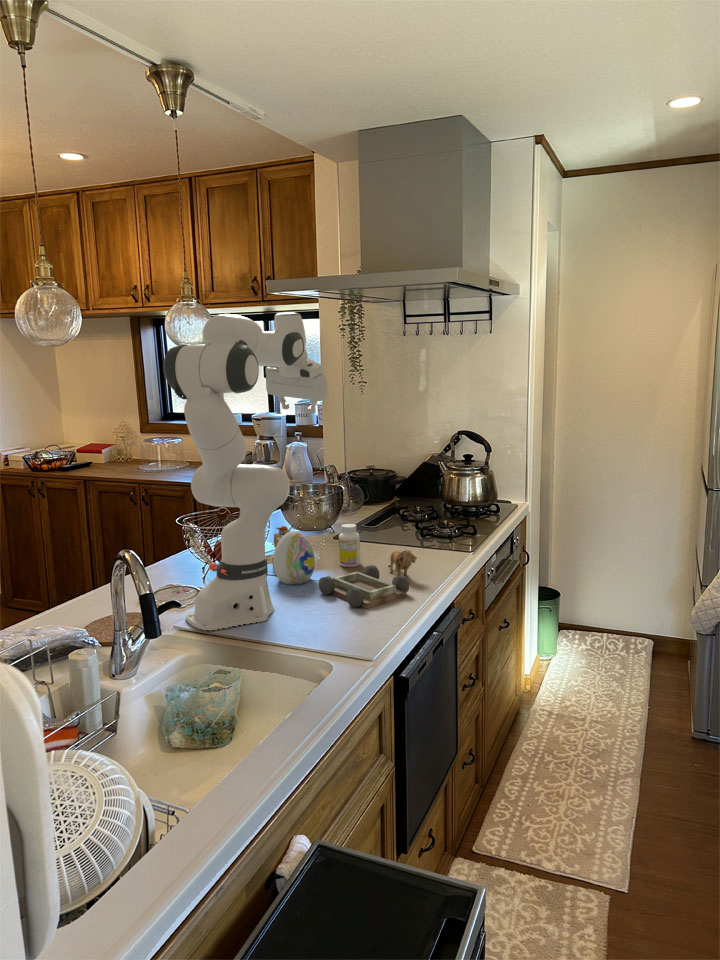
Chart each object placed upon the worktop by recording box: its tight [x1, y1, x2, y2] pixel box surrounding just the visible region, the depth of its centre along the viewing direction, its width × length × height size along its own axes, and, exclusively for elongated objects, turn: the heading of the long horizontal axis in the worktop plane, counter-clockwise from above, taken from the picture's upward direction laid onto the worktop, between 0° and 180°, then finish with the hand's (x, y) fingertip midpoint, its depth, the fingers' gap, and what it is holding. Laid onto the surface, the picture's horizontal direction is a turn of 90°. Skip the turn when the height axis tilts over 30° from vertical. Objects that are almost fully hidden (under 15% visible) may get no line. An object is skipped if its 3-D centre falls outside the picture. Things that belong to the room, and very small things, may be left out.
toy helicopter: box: [271, 525, 291, 572], centre depth 230 cm, size 8×21×14 cm, turn 17°
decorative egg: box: [272, 530, 316, 585], centre depth 213 cm, size 12×12×15 cm
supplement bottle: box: [338, 523, 361, 568], centre depth 228 cm, size 7×7×13 cm
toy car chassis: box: [318, 564, 410, 610], centre depth 201 cm, size 18×20×5 cm
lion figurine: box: [387, 549, 418, 579], centre depth 217 cm, size 15×5×9 cm, turn 25°
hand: (298, 410), depth 218 cm, fingers open, 8 cm apart
